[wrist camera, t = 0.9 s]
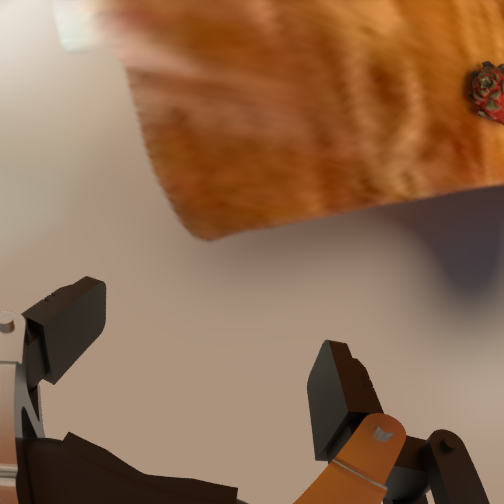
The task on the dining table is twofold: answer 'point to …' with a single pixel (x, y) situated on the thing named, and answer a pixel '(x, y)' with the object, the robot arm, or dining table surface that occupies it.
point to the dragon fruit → (489, 91)
